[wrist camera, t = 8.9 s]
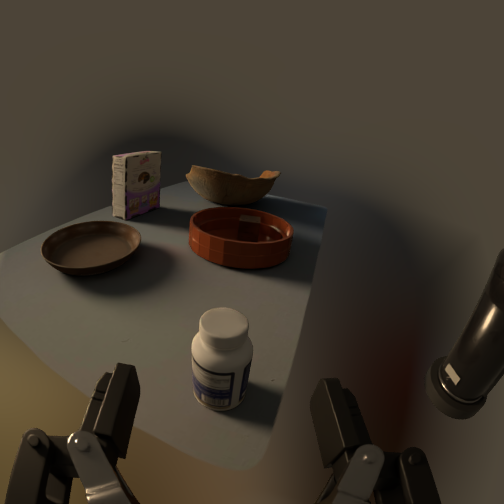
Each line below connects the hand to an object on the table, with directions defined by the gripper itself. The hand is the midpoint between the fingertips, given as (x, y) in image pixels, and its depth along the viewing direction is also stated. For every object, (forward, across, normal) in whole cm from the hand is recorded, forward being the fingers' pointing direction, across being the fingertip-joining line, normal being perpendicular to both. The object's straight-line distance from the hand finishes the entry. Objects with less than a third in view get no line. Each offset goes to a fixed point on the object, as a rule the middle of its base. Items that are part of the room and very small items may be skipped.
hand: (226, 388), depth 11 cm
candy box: (+64, +26, +14) cm, 70 cm away
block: (+51, -5, +14) cm, 53 cm away
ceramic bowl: (+82, 0, +14) cm, 83 cm away
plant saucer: (+37, +26, +14) cm, 47 cm away
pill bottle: (+10, 0, +14) cm, 18 cm away
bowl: (+47, -3, +14) cm, 49 cm away
